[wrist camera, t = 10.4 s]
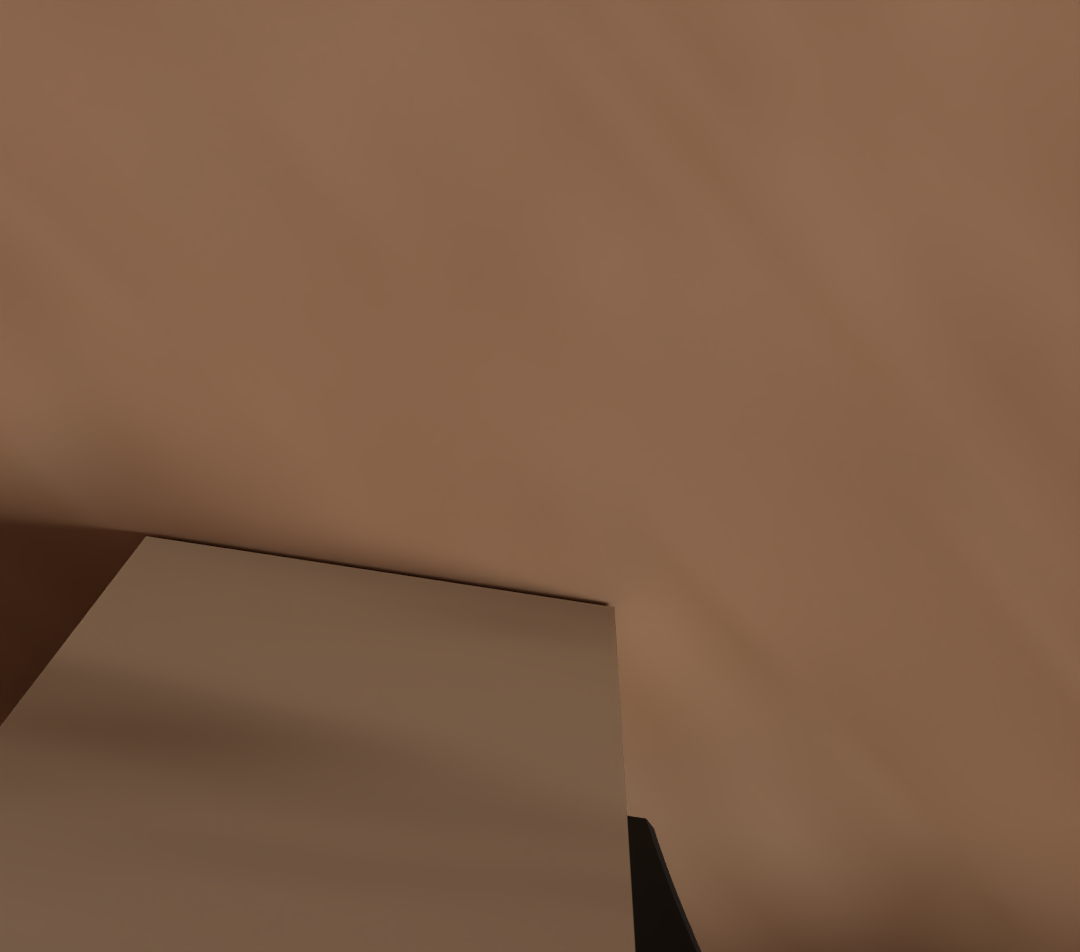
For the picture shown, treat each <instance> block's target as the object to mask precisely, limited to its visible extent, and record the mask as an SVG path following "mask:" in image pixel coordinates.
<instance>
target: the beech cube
mask: <svg viewBox="0 0 1080 952" xmlns="http://www.w3.org/2000/svg"><path fill="white" fill-rule="evenodd" d="M0 952H635V937H634V921H633V905H632V888H631V872H630V856H629V839H628V823H627V806H626V790H625V774H624V757H623V741H622V724H621V708H620V692H619V675H618V659H617V642H616V626H615V610H614V607H609V606H602V605H596V604H589V603H583V602H576V601H569V600H563V599H556V598H550V597H543V596H537V595H530V594H523V593H517V592H510V591H504V590H497V589H491V588H484V587H477V586H471V585H464V584H458V583H451V582H444V581H438V580H431V579H425V578H418V577H412V576H405V575H398V574H392V573H385V572H379V571H372V570H365V569H359V568H352V567H346V566H339V565H333V564H326V563H319V562H313V561H306V560H300V559H293V558H286V557H280V556H273V555H267V554H260V553H254V552H247V551H240V550H234V549H227V548H221V547H214V546H207V545H201V544H194V543H188V542H181V541H175V540H168V539H161V538H155V537H148V536H146V537H145V538H144V539H143V541H142V542H141V543H140V545H139V546H138V547H137V549H136V550H135V551H134V553H133V554H132V555H131V556H130V558H129V559H128V560H127V562H126V563H125V564H124V566H123V567H122V568H121V569H120V571H119V572H118V573H117V575H116V576H115V577H114V579H113V580H112V581H111V582H110V584H109V585H108V586H107V588H106V589H105V590H104V592H103V593H102V594H101V596H100V597H99V598H98V599H97V601H96V602H95V603H94V605H93V606H92V607H91V609H90V610H89V611H88V612H87V614H86V615H85V616H84V618H83V619H82V620H81V622H80V623H79V624H78V626H77V627H76V628H75V629H74V631H73V632H72V633H71V635H70V636H69V637H68V639H67V640H66V641H65V642H64V644H63V645H62V646H61V648H60V649H59V650H58V652H57V653H56V654H55V656H54V657H53V658H52V659H51V661H50V662H49V663H48V665H47V666H46V667H45V669H44V670H43V671H42V672H41V674H40V675H39V676H38V678H37V679H36V680H35V682H34V683H33V684H32V685H31V687H30V688H29V689H28V691H27V692H26V693H25V695H24V696H23V697H22V699H21V700H20V701H19V702H18V704H17V705H16V706H15V708H14V709H13V710H12V712H11V713H10V714H9V715H8V717H7V718H6V719H5V721H4V722H3V723H2V725H1V726H0Z"/></svg>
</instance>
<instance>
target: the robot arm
mask: <svg viewBox="0 0 1080 952" xmlns="http://www.w3.org/2000/svg"><path fill="white" fill-rule="evenodd" d="M627 823H628V839H629V856H630V872H631V888H632V905H633V921H634V937H635V952H701V950H700V948H699V945H698V943H697V941H696V939H695V936H694V934H693V931H692V929H691V926H690V924H689V922H688V919H687V917H686V914H685V912H684V910H683V907H682V905H681V902H680V900H679V897H678V895H677V892H676V890H675V887H674V884H673V882H672V879H671V876H670V874H669V871H668V868H667V866H666V863H665V860H664V857H663V854H662V852H661V849H660V846H659V843H658V840H657V837H656V834H655V831H654V828H653V827H652V826H651V824H650V823H649V822H648V820H647V819H645V818H638V817H631V816H627Z"/></svg>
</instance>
